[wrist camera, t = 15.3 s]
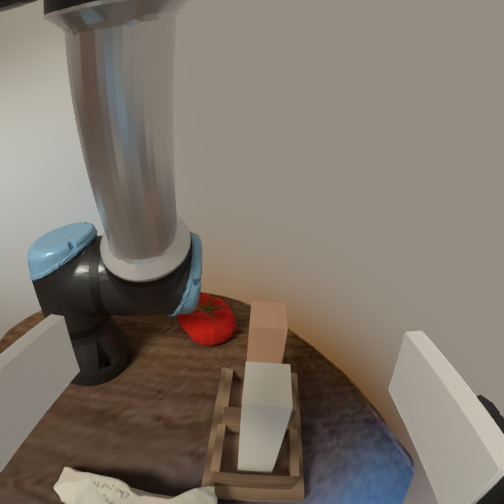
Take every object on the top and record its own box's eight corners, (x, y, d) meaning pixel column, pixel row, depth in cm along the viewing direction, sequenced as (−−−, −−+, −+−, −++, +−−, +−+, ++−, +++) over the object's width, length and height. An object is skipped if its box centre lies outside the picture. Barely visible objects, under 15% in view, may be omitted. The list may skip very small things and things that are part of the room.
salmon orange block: (243, 411, 36) (249, 326, 30) (245, 385, 41) (251, 299, 34) (271, 413, 36) (287, 329, 30) (272, 387, 41) (285, 302, 34)
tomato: (201, 359, 48) (200, 330, 45) (171, 325, 55) (168, 298, 52) (245, 338, 54) (247, 310, 51) (212, 310, 61) (212, 283, 58)
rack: (301, 501, 25) (309, 493, 23) (201, 496, 25) (198, 487, 23) (295, 378, 45) (299, 362, 43) (222, 373, 45) (221, 356, 43)
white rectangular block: (237, 473, 27) (241, 404, 21) (240, 441, 32) (245, 361, 25) (270, 475, 27) (292, 407, 21) (271, 443, 32) (290, 364, 25)
